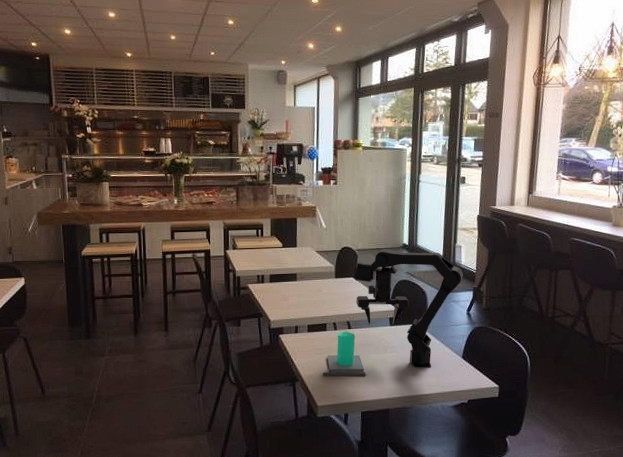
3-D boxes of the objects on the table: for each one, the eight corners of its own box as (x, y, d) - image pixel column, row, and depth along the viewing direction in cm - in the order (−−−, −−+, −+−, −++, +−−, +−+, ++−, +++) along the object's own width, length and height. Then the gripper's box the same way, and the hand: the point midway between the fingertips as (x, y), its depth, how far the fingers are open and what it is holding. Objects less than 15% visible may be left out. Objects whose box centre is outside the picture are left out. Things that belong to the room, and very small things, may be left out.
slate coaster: (359, 357, 205) (359, 355, 205) (363, 371, 193) (363, 369, 193) (327, 357, 205) (327, 355, 204) (329, 371, 193) (329, 369, 193)
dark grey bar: (364, 375, 191) (364, 371, 191) (365, 377, 190) (365, 373, 190) (322, 375, 190) (322, 371, 190) (322, 377, 189) (322, 373, 189)
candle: (347, 366, 195) (348, 334, 193) (333, 362, 198) (334, 330, 196) (356, 361, 199) (358, 330, 197) (343, 357, 203) (344, 326, 201)
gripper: (403, 278, 210) (401, 317, 213) (355, 277, 209) (353, 316, 212) (410, 286, 199) (407, 327, 202) (359, 285, 198) (357, 326, 201)
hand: (381, 324), depth 204 cm, fingers open, 9 cm apart
